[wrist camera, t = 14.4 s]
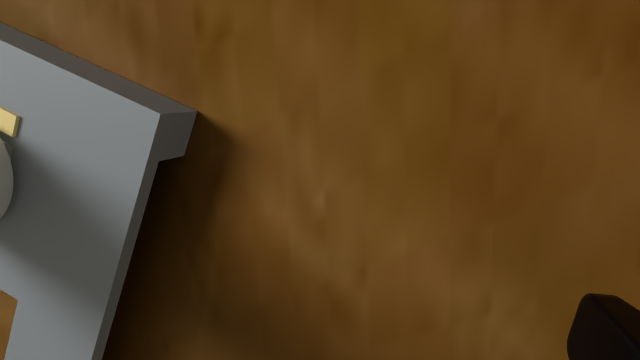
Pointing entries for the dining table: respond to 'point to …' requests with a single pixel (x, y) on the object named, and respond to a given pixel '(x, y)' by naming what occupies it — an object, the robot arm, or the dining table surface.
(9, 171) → the footed peg
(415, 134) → the dining table surface
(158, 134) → the keyhole plate
